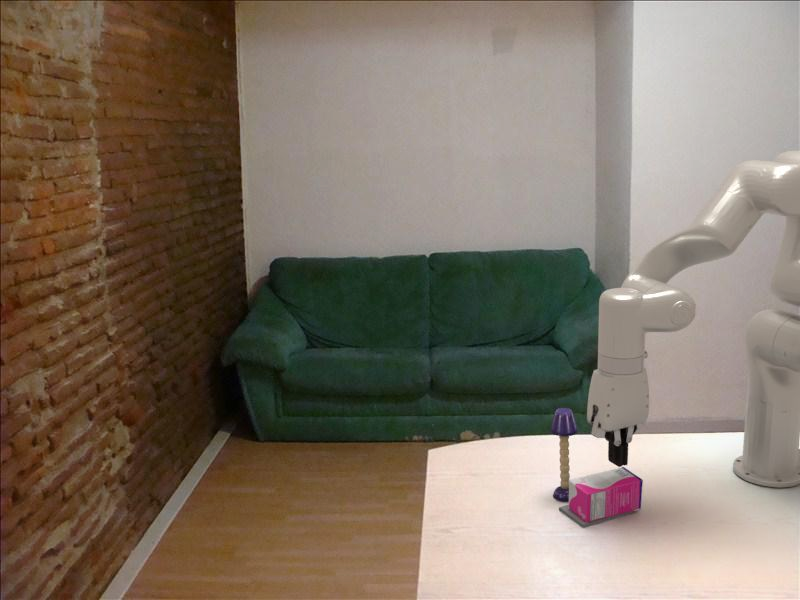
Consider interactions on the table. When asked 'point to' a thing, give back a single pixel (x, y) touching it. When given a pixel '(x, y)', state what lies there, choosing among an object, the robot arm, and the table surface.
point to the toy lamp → (563, 448)
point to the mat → (581, 522)
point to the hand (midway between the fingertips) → (617, 462)
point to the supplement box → (605, 494)
